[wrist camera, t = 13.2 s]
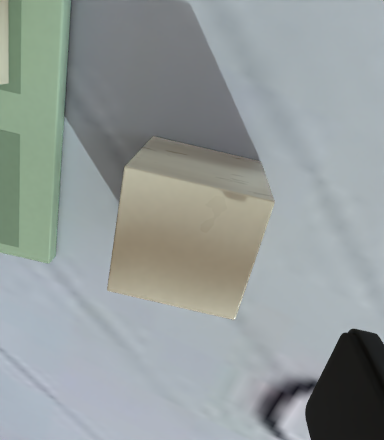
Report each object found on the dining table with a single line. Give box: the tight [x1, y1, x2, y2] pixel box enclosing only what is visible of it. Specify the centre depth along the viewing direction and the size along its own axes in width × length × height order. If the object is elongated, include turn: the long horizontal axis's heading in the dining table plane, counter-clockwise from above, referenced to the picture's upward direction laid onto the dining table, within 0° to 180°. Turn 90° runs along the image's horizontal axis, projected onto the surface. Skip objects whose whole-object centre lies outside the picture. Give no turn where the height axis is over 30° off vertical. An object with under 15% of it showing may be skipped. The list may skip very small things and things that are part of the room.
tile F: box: [107, 136, 275, 320], centre depth 15 cm, size 5×5×5 cm
